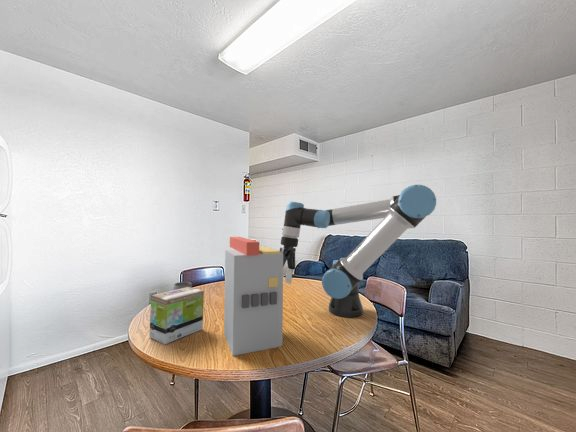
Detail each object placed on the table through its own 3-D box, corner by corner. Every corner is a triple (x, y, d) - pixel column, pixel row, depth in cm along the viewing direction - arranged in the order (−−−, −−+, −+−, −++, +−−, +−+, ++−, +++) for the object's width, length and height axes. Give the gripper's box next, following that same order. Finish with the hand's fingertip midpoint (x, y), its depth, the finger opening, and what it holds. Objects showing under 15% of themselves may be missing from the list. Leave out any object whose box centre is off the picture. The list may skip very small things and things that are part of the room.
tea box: (166, 345, 83) (167, 299, 83) (148, 338, 88) (149, 294, 88) (203, 329, 95) (204, 289, 96) (186, 323, 101) (187, 285, 101)
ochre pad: (249, 249, 96) (249, 247, 96) (265, 248, 98) (265, 246, 98) (262, 254, 81) (262, 251, 81) (280, 253, 83) (280, 251, 83)
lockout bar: (229, 246, 104) (229, 236, 104) (239, 246, 105) (239, 236, 105) (246, 255, 78) (246, 242, 78) (259, 255, 79) (259, 242, 80)
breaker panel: (224, 334, 91) (225, 250, 92) (266, 327, 98) (267, 248, 98) (233, 357, 76) (235, 256, 76) (283, 347, 82) (284, 253, 83)
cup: (195, 305, 122) (195, 284, 122) (173, 309, 117) (174, 287, 117) (190, 300, 130) (190, 280, 130) (170, 303, 124) (170, 282, 125)
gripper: (291, 236, 126) (284, 279, 124) (271, 234, 102) (262, 287, 101) (306, 239, 123) (299, 283, 122) (288, 237, 100) (279, 292, 98)
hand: (282, 285), depth 111 cm, fingers open, 13 cm apart
